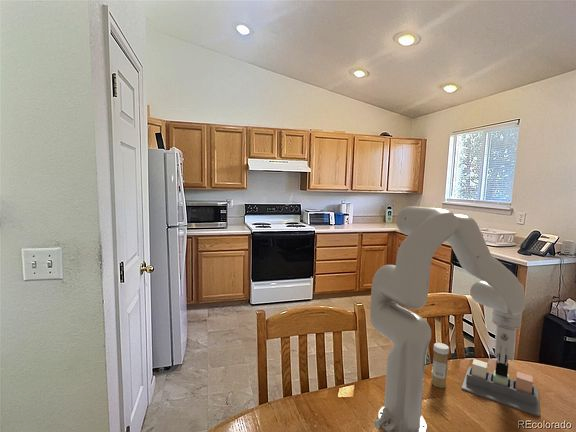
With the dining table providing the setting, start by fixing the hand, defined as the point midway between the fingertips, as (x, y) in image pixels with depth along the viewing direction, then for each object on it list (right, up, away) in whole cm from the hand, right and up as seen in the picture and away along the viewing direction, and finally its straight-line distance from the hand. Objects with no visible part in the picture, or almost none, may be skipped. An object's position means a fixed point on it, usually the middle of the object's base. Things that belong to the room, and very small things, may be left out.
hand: (501, 374), depth 103 cm
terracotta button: (+5, -3, -3) cm, 7 cm away
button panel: (0, -6, +1) cm, 6 cm away
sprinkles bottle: (-19, -5, +3) cm, 20 cm away
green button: (0, -5, 0) cm, 5 cm away
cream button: (-5, -2, +4) cm, 7 cm away
